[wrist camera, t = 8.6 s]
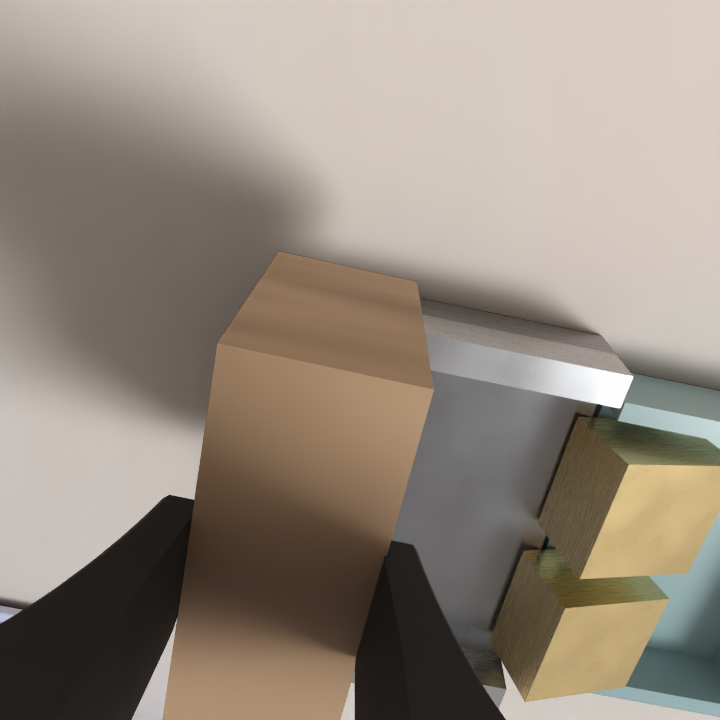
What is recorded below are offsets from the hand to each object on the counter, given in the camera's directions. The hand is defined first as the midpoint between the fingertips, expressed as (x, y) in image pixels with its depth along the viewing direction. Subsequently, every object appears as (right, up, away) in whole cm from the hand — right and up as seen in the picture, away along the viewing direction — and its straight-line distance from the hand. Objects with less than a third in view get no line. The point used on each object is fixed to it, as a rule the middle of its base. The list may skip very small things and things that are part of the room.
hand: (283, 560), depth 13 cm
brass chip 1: (+9, 0, +9) cm, 13 cm away
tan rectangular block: (0, +2, +5) cm, 6 cm away
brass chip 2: (+8, -4, +11) cm, 14 cm away
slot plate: (+3, 0, +10) cm, 11 cm away
